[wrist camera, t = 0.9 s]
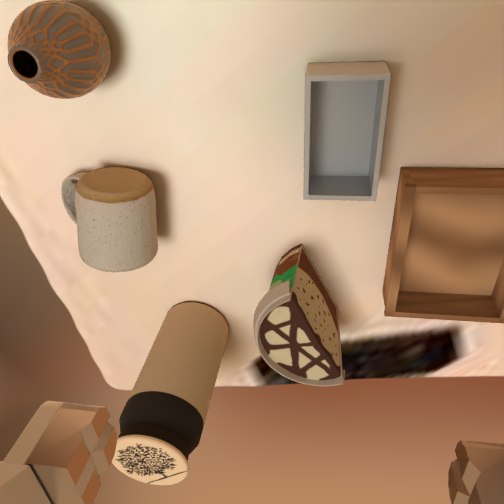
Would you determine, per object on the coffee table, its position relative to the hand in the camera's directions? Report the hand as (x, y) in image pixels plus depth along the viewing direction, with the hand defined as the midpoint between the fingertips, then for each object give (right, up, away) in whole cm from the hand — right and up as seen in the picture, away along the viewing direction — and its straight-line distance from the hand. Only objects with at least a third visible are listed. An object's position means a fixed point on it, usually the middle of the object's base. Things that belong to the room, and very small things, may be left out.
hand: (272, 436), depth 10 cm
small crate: (+7, +15, +27) cm, 32 cm away
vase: (-15, +22, +27) cm, 38 cm away
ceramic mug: (-14, +10, +35) cm, 39 cm away
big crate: (+19, +6, +32) cm, 37 cm away
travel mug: (-7, -5, +44) cm, 45 cm away
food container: (+4, +1, +38) cm, 38 cm away
